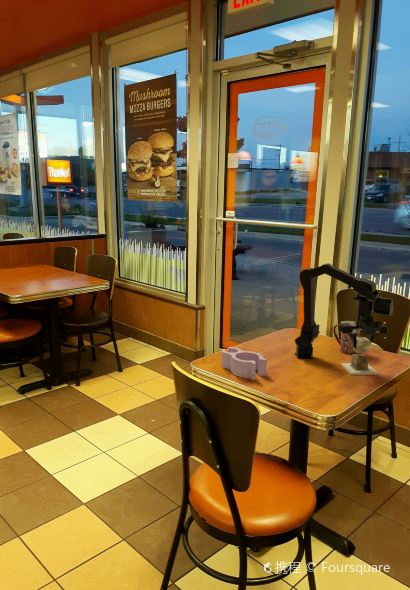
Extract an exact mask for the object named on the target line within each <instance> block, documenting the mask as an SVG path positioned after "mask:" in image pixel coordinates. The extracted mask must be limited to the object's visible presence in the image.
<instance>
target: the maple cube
mask: <svg viewBox="0 0 410 590" xmlns="http://www.w3.org/2000/svg"><path fill="white" fill-rule="evenodd" d="M353 349H354V350H355V351H356V354H364V353H367V354H369V353H370V349H371V344H370V340H368V339H367V336H366V337H363V336H362V337H361V336H359V337H357V338H356V349H355V348H354V347H353Z"/></svg>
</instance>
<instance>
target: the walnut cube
mask: <svg viewBox="0 0 410 590" xmlns="http://www.w3.org/2000/svg"><path fill="white" fill-rule="evenodd" d="M369 360H370V358H369V357H368V356H367V355H366V354H364V353H355V354H351V361H350V363H351V366H352V367H353V368H354V369H355V370H368V365H369Z"/></svg>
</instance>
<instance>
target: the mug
mask: <svg viewBox="0 0 410 590" xmlns="http://www.w3.org/2000/svg"><path fill="white" fill-rule="evenodd" d="M355 322H356V321H351V320H343V321H341V322H340V323H349V324H350V325H351V326H356V325H355ZM340 323H339V324H340ZM339 324H338V323H337V324H335V325H333V328H332V329H333V331H332V332H333V336H334V338H335V340H336V341H337V343H338V345H339V346H340V347H339V351H340V352H341V353H344V354H347V355H348V354H349V355H352V354H357V352H356V351H355V350H354V349H353V344H352V341H351V338H350V335H349V334H348V333H342V332H341V331H340V339H339V336H338V334H337V332H336V329H337V327H339ZM356 333H357V334H358V335H357V337H360V333H361V330H356Z"/></svg>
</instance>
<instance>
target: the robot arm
mask: <svg viewBox="0 0 410 590" xmlns="http://www.w3.org/2000/svg"><path fill="white" fill-rule="evenodd" d="M322 275H327V276H329V277H330V278H333V279H335V280H338V281H339V282H341V283H343V284H346V285H347V286H349V287H351V288H352V289H353V291H355V292H356V293H357V295H356V296H354V297H353V300H354V301H357V311H355V315H356V321H354V322H355V325H356V326H351V325H350V324H349V323H341V322H340V323H339V326H337V327H338V331H340V333H341V332H342V333H348V334H349V335H350V338H351V341H352V344H353V347H354V348H355V349H356V338H357V335H358V334H357V333H356V330H360V331H362V332H363V333H364V335H366V338H367V339H368V340H370V345H371V344H372V342H373V341H374V339H375V338H376V337H377V336H380V335H382V334H389V328H388V326H387V325H386V324H383V323H382V321H374V315H373V313H375V314H377V315H381V316H382V315H383V316H389V317H391V316H392V315H393V312H394V308H395V306H394V298H391V297H383V296H381V293H380V292H379V291H378V289H377V283H376V282H375V281H373V280H371V279H367V278H364V277H363V278H362V277H358V276H355V275H353V274H351V273H349V272H347V271H345V270H342V269H341V268H338V267H336V266H333V265H332V264H331V263H324V264H322V265H320V266H317V267H309V268H305V269H303V270H301V271H300V272H299V275H298V276H299V282H300V285H301V287H302V290H303V295H302V296H303V323H302V326H301V328H300V334H299V336H298V337H296V338H295V339H294V343H295V346H296V350H295V352H294V355H295V356H296V358H297V359H308V360H309V359H313V355H314V354H313V352H314V347H313V343H314V340H316V339H317V338H318V337H319V334H320V333H321V332H320V324H317V323H316V321H315V319H316V317H315V288H316V285H317V283H318V277H320V276H322Z"/></svg>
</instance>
